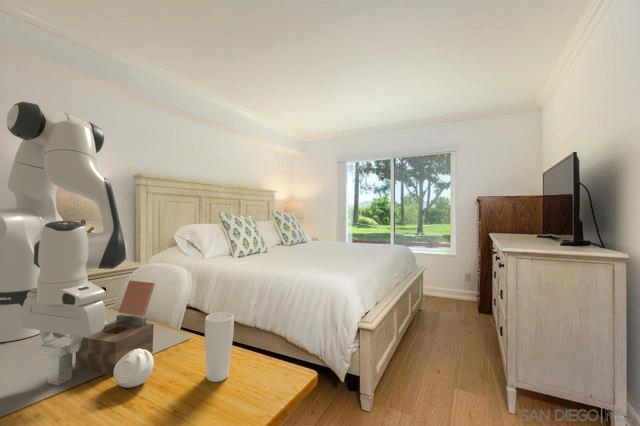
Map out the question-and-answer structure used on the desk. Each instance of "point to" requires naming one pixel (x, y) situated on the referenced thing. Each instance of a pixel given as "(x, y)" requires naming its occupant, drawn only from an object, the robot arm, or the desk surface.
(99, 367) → the block
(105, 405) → the desk surface
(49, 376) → the steel peg
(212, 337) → the drinking glass
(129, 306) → the panel
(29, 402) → the desk surface
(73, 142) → the robot arm
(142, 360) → the white ridged ball
